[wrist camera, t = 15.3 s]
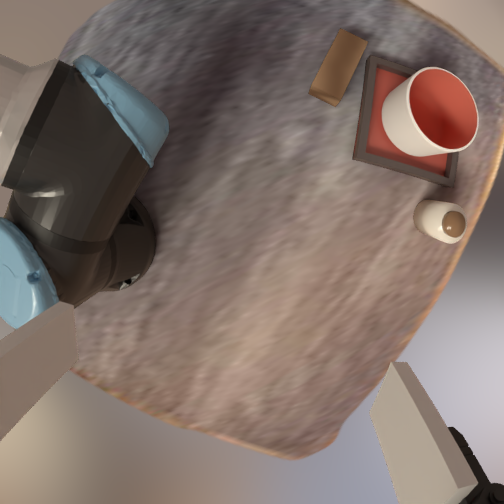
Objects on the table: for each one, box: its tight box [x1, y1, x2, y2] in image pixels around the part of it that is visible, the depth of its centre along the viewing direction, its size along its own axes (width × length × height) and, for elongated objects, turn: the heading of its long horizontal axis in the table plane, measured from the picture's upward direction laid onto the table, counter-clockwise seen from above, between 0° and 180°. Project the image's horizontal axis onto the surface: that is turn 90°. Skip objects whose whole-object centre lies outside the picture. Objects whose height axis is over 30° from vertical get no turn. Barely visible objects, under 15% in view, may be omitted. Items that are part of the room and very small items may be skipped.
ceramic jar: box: [413, 200, 467, 243], centre depth 36 cm, size 5×5×8 cm
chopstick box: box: [309, 28, 368, 107], centre depth 35 cm, size 4×10×4 cm, turn 155°
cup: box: [382, 67, 479, 157], centre depth 31 cm, size 10×10×10 cm
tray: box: [352, 55, 459, 188], centre depth 36 cm, size 15×15×2 cm
